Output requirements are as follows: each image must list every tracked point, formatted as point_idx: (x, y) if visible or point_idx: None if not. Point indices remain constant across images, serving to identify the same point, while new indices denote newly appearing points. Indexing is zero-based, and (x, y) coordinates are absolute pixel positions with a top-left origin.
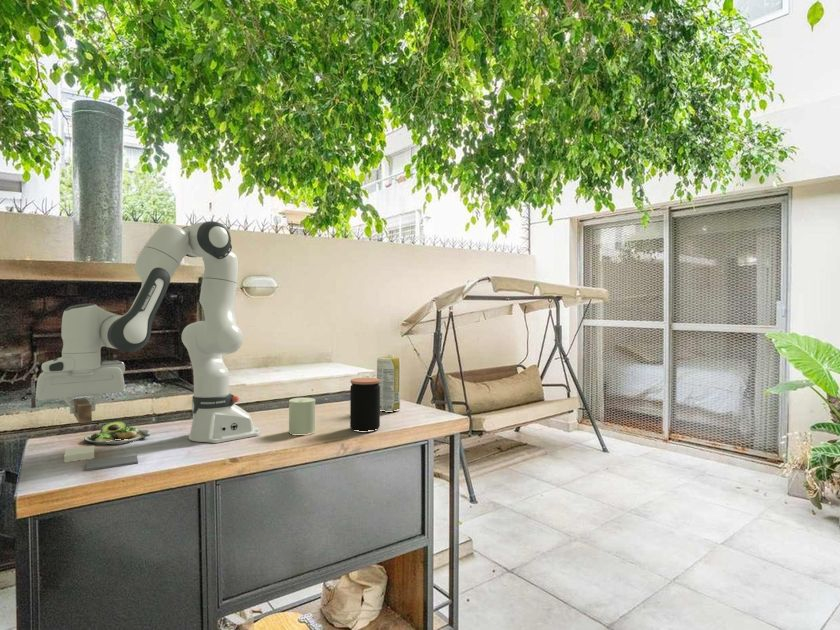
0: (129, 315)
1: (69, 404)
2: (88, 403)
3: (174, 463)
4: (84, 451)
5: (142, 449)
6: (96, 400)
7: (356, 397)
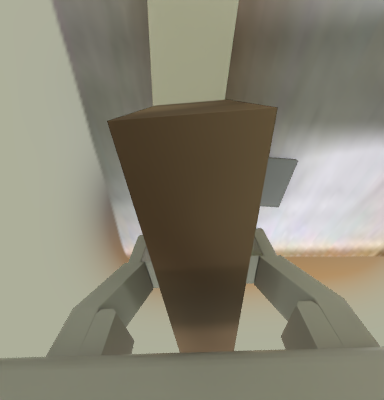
0: None
1: (129, 312)
2: (228, 337)
3: (316, 232)
4: (201, 82)
5: (341, 87)
6: (289, 315)
7: None
